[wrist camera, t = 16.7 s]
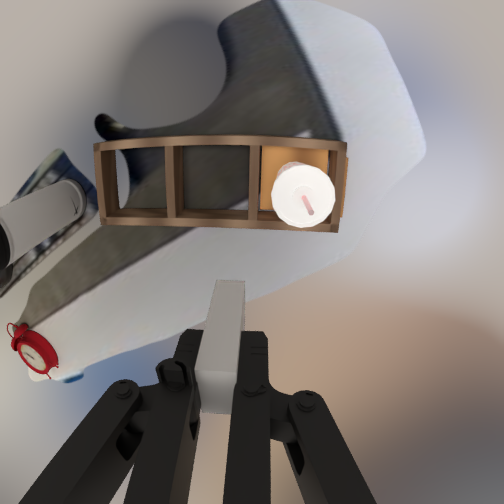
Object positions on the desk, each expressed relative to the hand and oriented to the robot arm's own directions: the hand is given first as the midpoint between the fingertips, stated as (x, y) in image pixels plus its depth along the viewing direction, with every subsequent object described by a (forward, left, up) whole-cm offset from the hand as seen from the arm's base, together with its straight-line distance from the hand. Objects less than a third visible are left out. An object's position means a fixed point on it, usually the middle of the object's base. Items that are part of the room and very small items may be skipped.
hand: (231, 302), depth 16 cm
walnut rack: (-5, +1, -23) cm, 24 cm away
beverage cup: (+4, +4, -23) cm, 24 cm away
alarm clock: (-34, -46, -24) cm, 62 cm away
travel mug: (-25, -9, -23) cm, 35 cm away
